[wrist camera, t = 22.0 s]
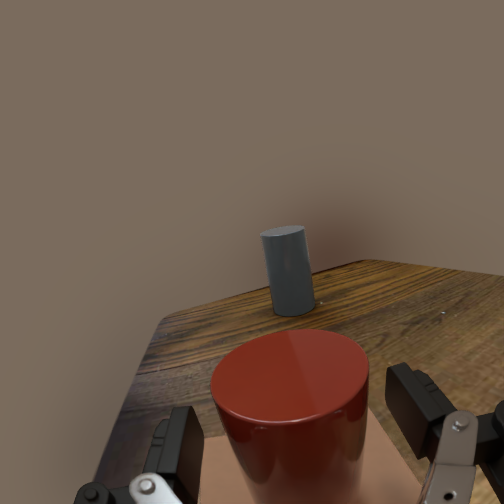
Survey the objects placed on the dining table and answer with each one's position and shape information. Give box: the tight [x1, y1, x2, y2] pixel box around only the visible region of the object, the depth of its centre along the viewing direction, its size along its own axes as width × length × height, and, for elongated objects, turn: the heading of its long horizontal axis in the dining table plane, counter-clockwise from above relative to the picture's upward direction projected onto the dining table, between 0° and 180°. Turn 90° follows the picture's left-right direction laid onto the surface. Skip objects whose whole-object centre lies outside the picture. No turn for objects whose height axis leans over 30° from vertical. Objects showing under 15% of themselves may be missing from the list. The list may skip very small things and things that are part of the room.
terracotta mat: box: [200, 407, 422, 504], centre depth 12 cm, size 12×14×1 cm
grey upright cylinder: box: [260, 225, 315, 316], centre depth 38 cm, size 5×5×10 cm
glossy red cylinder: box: [210, 329, 369, 504], centre depth 11 cm, size 5×5×10 cm
